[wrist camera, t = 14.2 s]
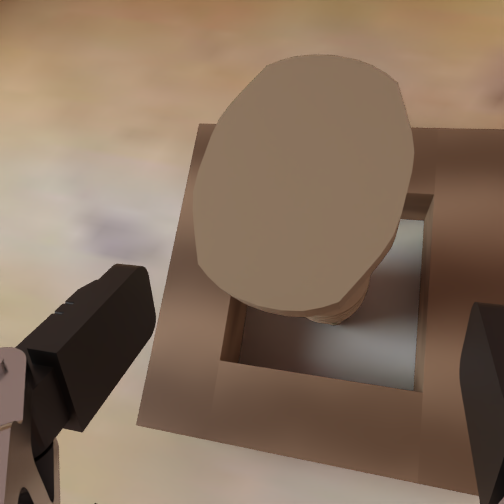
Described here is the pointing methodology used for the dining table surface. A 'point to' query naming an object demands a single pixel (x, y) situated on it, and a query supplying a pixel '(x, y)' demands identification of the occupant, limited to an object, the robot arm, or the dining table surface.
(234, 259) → the handle
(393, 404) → the holder
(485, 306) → the robot arm
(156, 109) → the dining table surface
